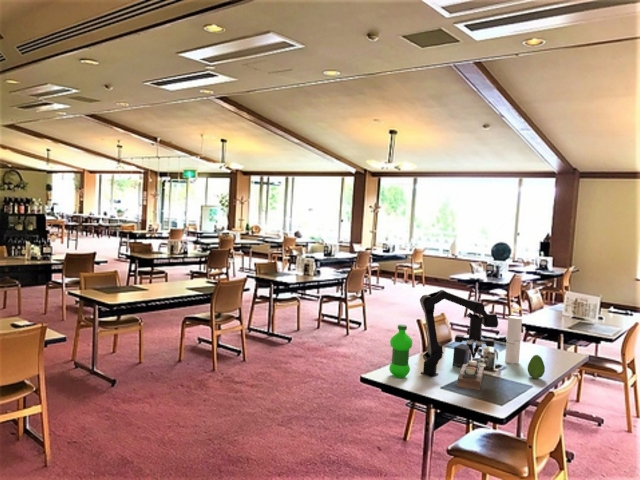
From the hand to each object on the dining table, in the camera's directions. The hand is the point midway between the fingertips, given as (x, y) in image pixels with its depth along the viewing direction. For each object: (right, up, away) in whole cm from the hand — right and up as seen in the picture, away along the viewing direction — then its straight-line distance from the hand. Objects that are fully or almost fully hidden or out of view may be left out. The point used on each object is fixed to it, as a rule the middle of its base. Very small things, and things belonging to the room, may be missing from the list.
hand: (473, 357), depth 259 cm
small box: (-1, -9, +18) cm, 20 cm away
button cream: (0, -4, 0) cm, 4 cm away
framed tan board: (-3, -10, -7) cm, 12 cm away
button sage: (-6, -4, -15) cm, 16 cm away
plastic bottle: (-38, -8, -7) cm, 39 cm away
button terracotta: (-3, -5, -7) cm, 9 cm away
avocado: (+32, -11, +2) cm, 34 cm away
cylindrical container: (+30, -9, +30) cm, 44 cm away
